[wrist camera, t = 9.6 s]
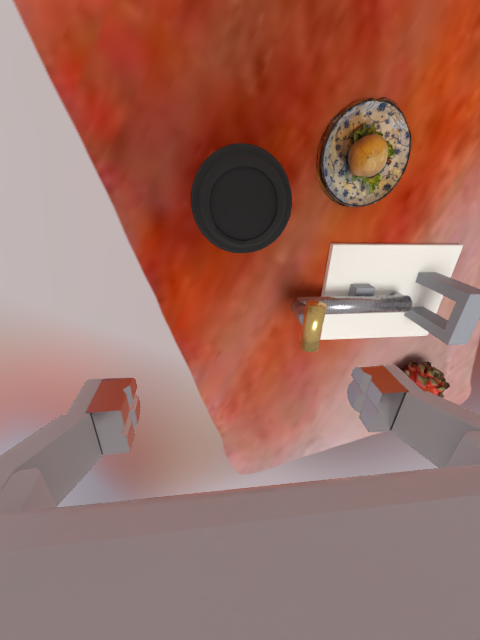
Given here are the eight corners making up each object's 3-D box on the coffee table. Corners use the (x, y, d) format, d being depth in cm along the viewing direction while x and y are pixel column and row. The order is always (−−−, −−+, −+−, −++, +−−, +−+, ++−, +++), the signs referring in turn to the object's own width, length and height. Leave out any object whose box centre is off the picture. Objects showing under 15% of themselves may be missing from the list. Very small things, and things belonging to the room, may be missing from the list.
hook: (281, 316, 43) (302, 352, 34) (285, 279, 40) (310, 308, 31) (393, 313, 45) (441, 346, 36) (404, 278, 43) (459, 304, 34)
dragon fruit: (408, 342, 53) (396, 383, 60) (389, 369, 49) (379, 409, 56) (461, 362, 47) (441, 403, 55) (445, 393, 43) (426, 434, 50)
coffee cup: (213, 139, 33) (220, 112, 19) (276, 179, 35) (320, 179, 22) (183, 211, 36) (172, 230, 23) (243, 243, 39) (265, 275, 25)
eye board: (313, 336, 47) (340, 374, 38) (330, 243, 40) (368, 262, 31) (423, 332, 50) (473, 367, 41) (457, 244, 43) (527, 261, 34)
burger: (381, 212, 39) (418, 219, 33) (305, 199, 37) (327, 203, 31) (418, 111, 34) (469, 94, 28) (331, 89, 32) (365, 66, 25)
